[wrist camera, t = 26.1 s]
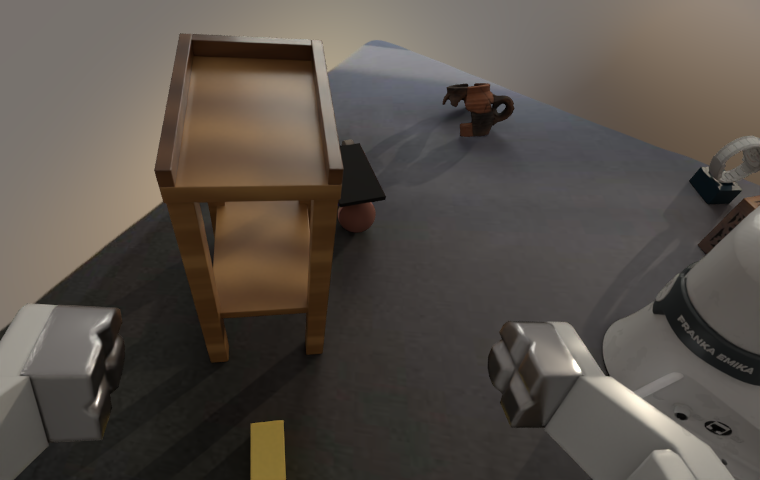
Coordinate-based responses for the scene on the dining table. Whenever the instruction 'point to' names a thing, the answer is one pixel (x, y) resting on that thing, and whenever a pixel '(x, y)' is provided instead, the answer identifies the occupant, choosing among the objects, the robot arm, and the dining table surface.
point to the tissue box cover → (729, 223)
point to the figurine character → (357, 189)
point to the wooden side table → (252, 179)
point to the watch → (722, 184)
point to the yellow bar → (268, 451)
